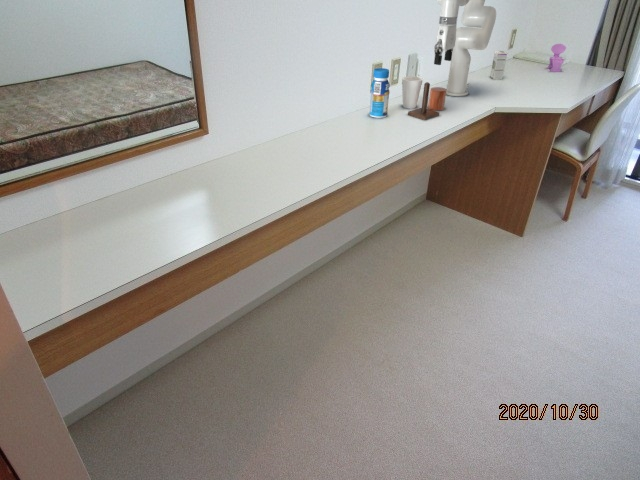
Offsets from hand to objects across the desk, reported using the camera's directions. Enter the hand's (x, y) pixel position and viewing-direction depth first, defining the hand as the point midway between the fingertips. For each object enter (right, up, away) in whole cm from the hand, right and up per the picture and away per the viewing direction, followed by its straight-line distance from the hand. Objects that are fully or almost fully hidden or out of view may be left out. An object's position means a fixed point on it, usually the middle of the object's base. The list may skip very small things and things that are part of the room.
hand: (442, 62), depth 204 cm
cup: (0, -18, +11) cm, 21 cm away
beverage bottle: (-29, -24, +2) cm, 37 cm away
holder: (-8, -23, +2) cm, 25 cm away
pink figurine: (+90, +25, +77) cm, 121 cm away
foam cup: (-12, -16, +13) cm, 24 cm away
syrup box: (+48, +15, +61) cm, 79 cm away
